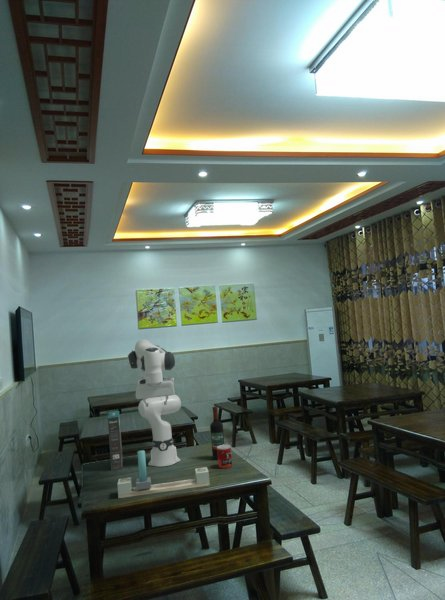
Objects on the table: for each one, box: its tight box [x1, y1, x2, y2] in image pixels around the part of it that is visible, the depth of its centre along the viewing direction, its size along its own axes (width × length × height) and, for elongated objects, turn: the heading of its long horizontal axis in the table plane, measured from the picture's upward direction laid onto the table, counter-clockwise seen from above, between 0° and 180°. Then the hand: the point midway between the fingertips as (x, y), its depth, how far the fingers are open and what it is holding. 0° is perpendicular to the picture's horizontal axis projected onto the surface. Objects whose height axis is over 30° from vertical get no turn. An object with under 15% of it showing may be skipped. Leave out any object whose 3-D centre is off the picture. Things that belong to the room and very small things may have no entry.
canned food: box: [217, 444, 233, 470], centre depth 250 cm, size 8×8×11 cm
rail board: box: [116, 466, 211, 499], centre depth 223 cm, size 8×44×7 cm, turn 99°
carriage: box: [135, 449, 152, 490], centre depth 222 cm, size 7×7×17 cm
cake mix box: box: [107, 410, 124, 472], centre depth 272 cm, size 22×6×30 cm, turn 12°
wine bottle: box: [209, 406, 225, 461], centre depth 267 cm, size 8×8×30 cm
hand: (156, 405), depth 235 cm, fingers open, 8 cm apart
